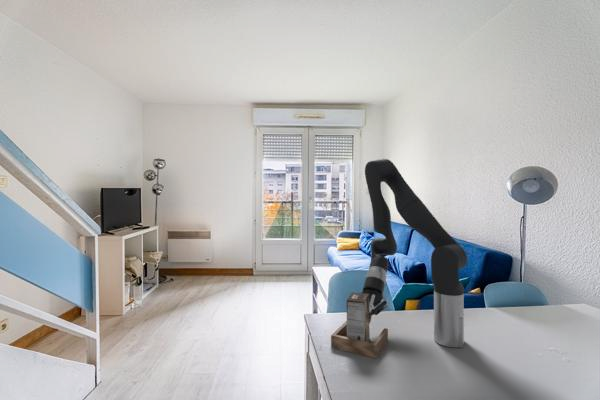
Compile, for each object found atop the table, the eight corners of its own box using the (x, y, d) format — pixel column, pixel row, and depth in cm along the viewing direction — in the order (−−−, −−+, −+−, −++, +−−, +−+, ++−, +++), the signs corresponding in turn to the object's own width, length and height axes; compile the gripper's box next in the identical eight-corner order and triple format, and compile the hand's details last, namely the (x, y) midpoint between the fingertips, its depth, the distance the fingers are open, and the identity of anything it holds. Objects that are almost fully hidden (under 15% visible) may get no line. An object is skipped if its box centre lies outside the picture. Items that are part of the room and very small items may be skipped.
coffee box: (351, 336, 117) (351, 291, 116) (369, 338, 115) (369, 293, 114) (346, 347, 108) (346, 299, 108) (365, 350, 106) (365, 301, 106)
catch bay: (387, 340, 113) (387, 328, 113) (375, 358, 101) (375, 345, 101) (346, 331, 121) (346, 320, 121) (331, 347, 109) (331, 335, 109)
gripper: (356, 273, 127) (344, 315, 117) (390, 278, 120) (381, 322, 110) (361, 283, 132) (350, 324, 121) (394, 288, 125) (385, 332, 115)
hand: (365, 323), depth 116 cm, fingers closed
